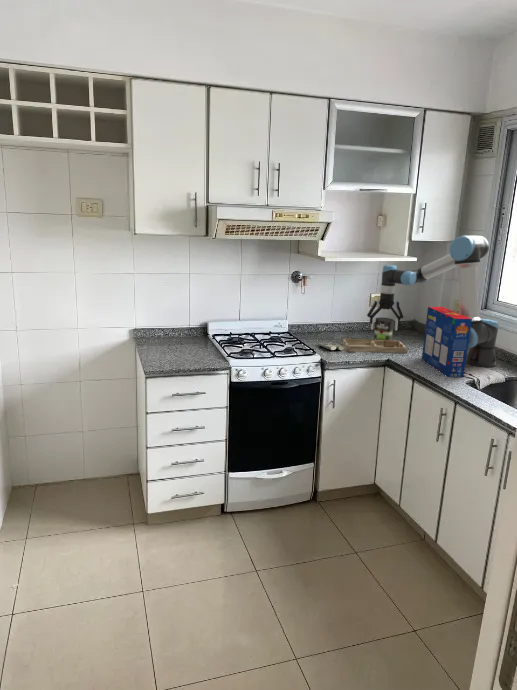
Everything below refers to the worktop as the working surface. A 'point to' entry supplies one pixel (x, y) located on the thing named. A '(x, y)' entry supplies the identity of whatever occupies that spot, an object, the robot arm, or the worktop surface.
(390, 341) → the walnut cube
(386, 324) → the coffee can
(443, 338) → the blue cardboard box
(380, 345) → the wooden organizer
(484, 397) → the worktop surface
